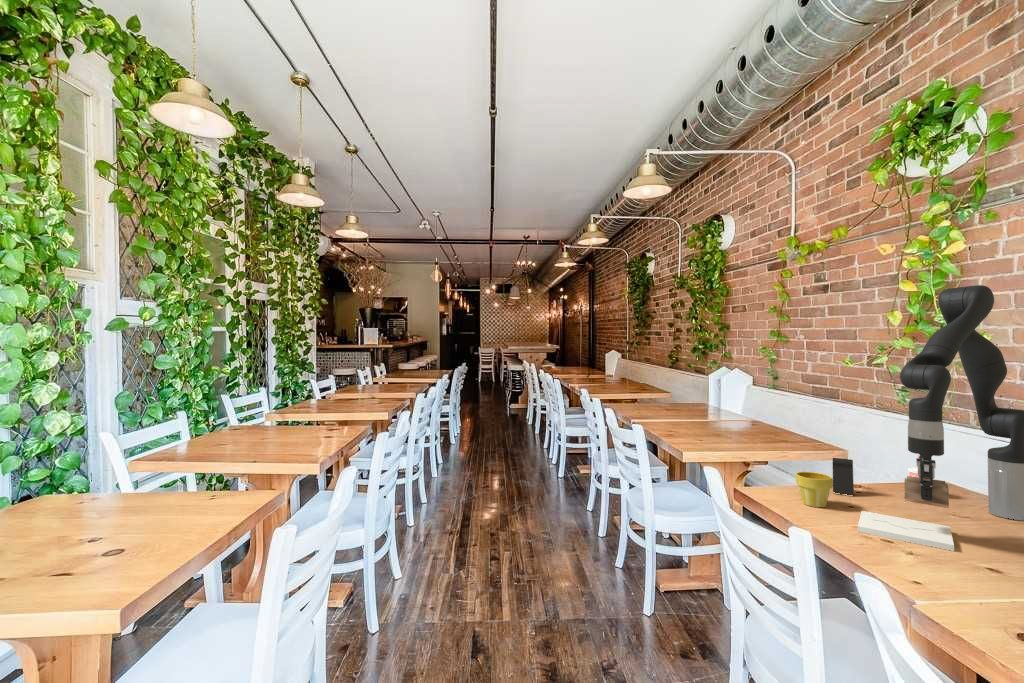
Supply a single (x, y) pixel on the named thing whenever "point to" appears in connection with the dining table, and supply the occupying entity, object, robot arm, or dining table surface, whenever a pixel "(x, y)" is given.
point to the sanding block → (938, 492)
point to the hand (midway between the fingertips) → (926, 496)
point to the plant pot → (814, 488)
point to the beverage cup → (913, 470)
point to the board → (906, 530)
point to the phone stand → (843, 476)
